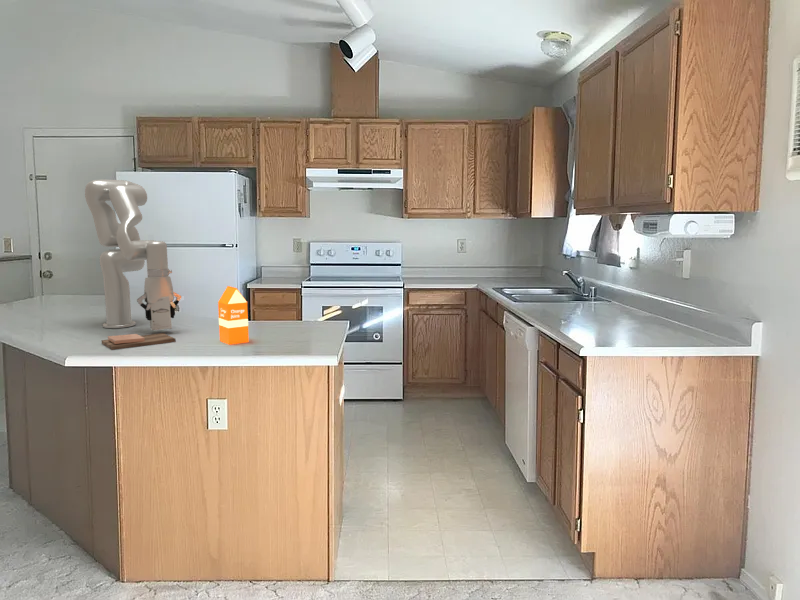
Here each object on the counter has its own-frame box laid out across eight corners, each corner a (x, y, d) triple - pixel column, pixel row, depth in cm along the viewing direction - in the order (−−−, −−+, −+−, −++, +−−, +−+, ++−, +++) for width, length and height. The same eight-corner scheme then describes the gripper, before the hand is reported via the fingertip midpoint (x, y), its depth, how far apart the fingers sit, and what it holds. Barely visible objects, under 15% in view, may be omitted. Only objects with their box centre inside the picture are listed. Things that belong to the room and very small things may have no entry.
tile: (136, 333, 248) (136, 337, 248) (107, 336, 242) (107, 339, 242) (144, 337, 240) (144, 341, 240) (115, 340, 234) (115, 344, 234)
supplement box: (151, 330, 256) (149, 298, 254) (150, 327, 263) (147, 295, 261) (172, 329, 259) (169, 296, 257) (170, 326, 266) (167, 294, 264)
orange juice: (228, 344, 239) (226, 288, 236) (219, 340, 246) (216, 286, 243) (249, 342, 243) (247, 287, 240) (239, 338, 250) (237, 284, 247)
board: (101, 343, 242) (101, 340, 242) (163, 336, 256) (162, 333, 255) (111, 349, 231) (111, 346, 231) (175, 341, 244) (175, 338, 244)
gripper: (177, 271, 265) (179, 315, 267) (131, 274, 255) (134, 320, 257) (183, 272, 259) (186, 317, 262) (137, 276, 249) (140, 322, 251)
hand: (160, 318), depth 259 cm, fingers closed on supplement box, 8 cm apart
